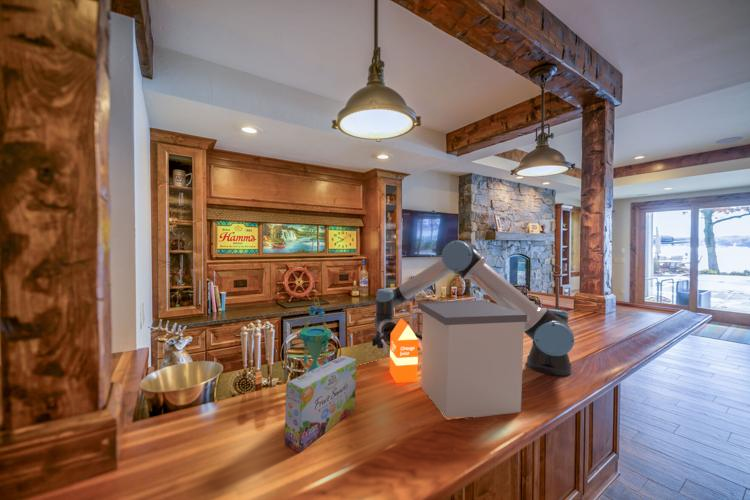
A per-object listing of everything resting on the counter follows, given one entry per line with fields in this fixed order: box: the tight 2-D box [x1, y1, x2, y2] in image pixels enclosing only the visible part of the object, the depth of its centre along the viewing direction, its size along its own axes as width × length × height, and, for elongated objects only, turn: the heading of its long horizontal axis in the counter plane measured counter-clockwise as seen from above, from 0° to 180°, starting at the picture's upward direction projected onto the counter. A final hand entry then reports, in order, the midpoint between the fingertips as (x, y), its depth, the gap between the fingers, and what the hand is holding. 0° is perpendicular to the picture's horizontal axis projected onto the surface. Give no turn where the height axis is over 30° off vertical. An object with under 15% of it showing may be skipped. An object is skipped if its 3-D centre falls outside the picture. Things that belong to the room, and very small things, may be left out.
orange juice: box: [389, 318, 419, 384], centre depth 106 cm, size 8×9×20 cm
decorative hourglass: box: [299, 296, 333, 375], centre depth 96 cm, size 11×11×30 cm
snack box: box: [284, 355, 358, 454], centre depth 77 cm, size 21×6×15 cm, turn 148°
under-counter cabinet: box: [417, 299, 527, 418], centre depth 93 cm, size 25×21×28 cm
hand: (405, 348), depth 104 cm, fingers open, 13 cm apart
